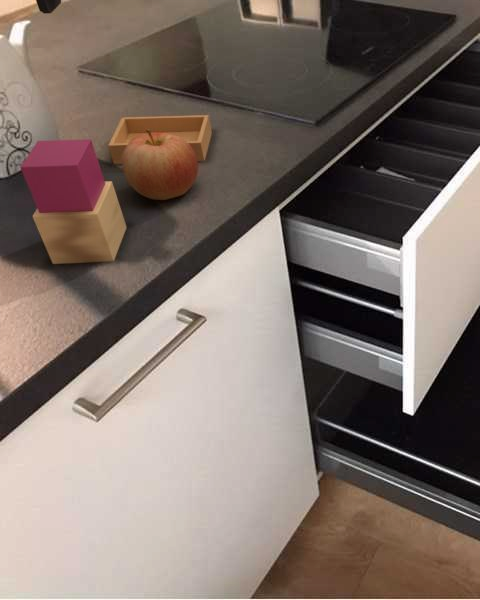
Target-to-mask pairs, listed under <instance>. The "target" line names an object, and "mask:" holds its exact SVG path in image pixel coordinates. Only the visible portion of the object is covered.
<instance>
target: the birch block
mask: <svg viewBox="0 0 480 600" xmlns="http://www.w3.org/2000/svg"><path fill="white" fill-rule="evenodd" d="M104 181H105V180H104ZM32 219H33V221H34V223H35V227H36V228H37V231H38V233H39V235H40V237H41V238H40V239H41V240H42V242H43V244H44V247H45V249H46V251H47V254H48V257H49V259H50V261H51V263H52V264H53V265H59V264H61V265H62V264H82V263H102V262H103V263H104V262H105V263H106V262H107V263H108V262H115V259H116V257H117V254H118V251H119V249H120V247H121V244H122V241H123V238H124V235H125V233H126V230H127V223H126V221H125V217H124V215H123V212H122V208H121V205H120V202H119V199H118V196H117V193H116V189H115V187H114V184H113V181H111V180H110V181H109V180H108V181H107V180H106V181H105V186H104V188H103V190H102V192H101V195H100V197H99V199H98V201H97V203H96V205H95V208H94V210H93V211H77V212H51V213H39V211H38V208H37V207H36V209H35V211H34V213H33V214H32Z"/></svg>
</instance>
